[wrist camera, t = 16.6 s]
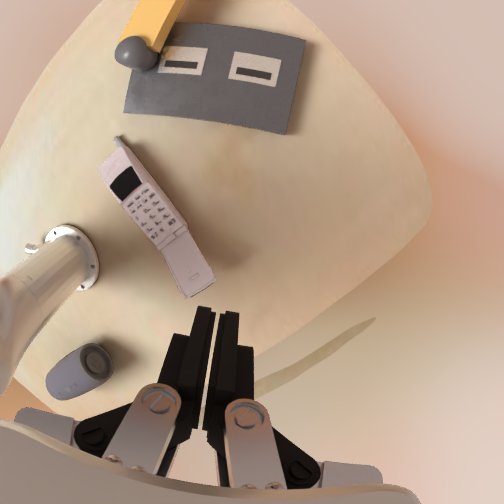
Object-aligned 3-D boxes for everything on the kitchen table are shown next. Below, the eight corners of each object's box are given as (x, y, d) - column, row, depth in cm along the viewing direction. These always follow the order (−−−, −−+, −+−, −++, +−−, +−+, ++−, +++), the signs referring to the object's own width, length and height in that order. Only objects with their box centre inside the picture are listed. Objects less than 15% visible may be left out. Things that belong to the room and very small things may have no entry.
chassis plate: (129, 113, 33) (122, 112, 30) (150, 27, 27) (144, 22, 25) (283, 135, 34) (285, 135, 32) (303, 44, 29) (306, 39, 27)
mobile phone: (186, 301, 38) (75, 164, 30) (193, 281, 44) (96, 159, 35) (219, 280, 37) (103, 133, 28) (222, 261, 42) (122, 132, 34)
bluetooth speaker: (79, 383, 57) (65, 409, 48) (54, 360, 54) (37, 385, 45) (122, 359, 51) (106, 393, 42) (91, 330, 48) (70, 362, 39)
